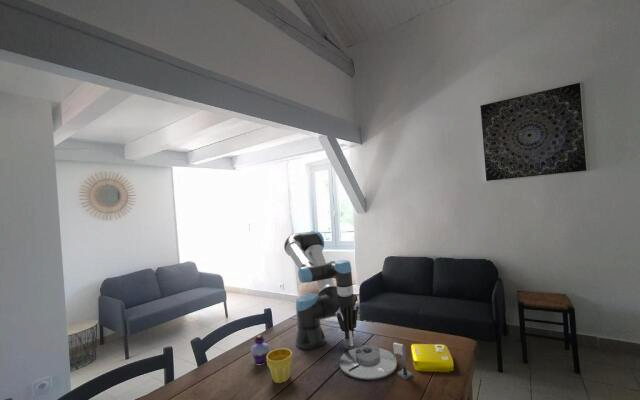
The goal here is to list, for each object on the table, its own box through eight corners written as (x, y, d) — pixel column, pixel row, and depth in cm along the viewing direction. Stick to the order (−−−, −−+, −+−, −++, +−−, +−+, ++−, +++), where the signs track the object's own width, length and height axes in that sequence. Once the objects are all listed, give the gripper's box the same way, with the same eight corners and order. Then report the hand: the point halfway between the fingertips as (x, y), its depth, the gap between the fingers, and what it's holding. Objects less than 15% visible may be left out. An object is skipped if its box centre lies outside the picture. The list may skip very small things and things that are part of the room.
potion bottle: (261, 356, 139) (259, 330, 140) (274, 360, 134) (272, 333, 135) (247, 364, 132) (245, 337, 133) (260, 369, 127) (258, 341, 128)
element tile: (411, 353, 131) (410, 342, 131) (447, 353, 128) (446, 342, 128) (414, 372, 116) (413, 359, 116) (455, 373, 113) (454, 360, 113)
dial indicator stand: (395, 373, 116) (392, 343, 116) (402, 370, 118) (399, 340, 118) (405, 379, 111) (402, 348, 111) (412, 375, 113) (409, 344, 114)
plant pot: (289, 386, 113) (287, 361, 113) (264, 385, 115) (262, 360, 115) (297, 371, 123) (295, 348, 123) (273, 371, 125) (271, 347, 125)
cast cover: (351, 360, 125) (350, 350, 125) (367, 352, 131) (366, 342, 131) (369, 369, 117) (368, 358, 117) (385, 359, 124) (384, 349, 124)
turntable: (324, 361, 128) (322, 347, 128) (362, 342, 143) (361, 329, 143) (369, 387, 107) (368, 370, 108) (408, 362, 122) (407, 347, 122)
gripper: (339, 299, 131) (344, 352, 130) (361, 292, 138) (366, 343, 137) (329, 295, 137) (334, 346, 136) (351, 289, 144) (355, 337, 143)
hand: (350, 344), depth 137 cm, fingers closed
